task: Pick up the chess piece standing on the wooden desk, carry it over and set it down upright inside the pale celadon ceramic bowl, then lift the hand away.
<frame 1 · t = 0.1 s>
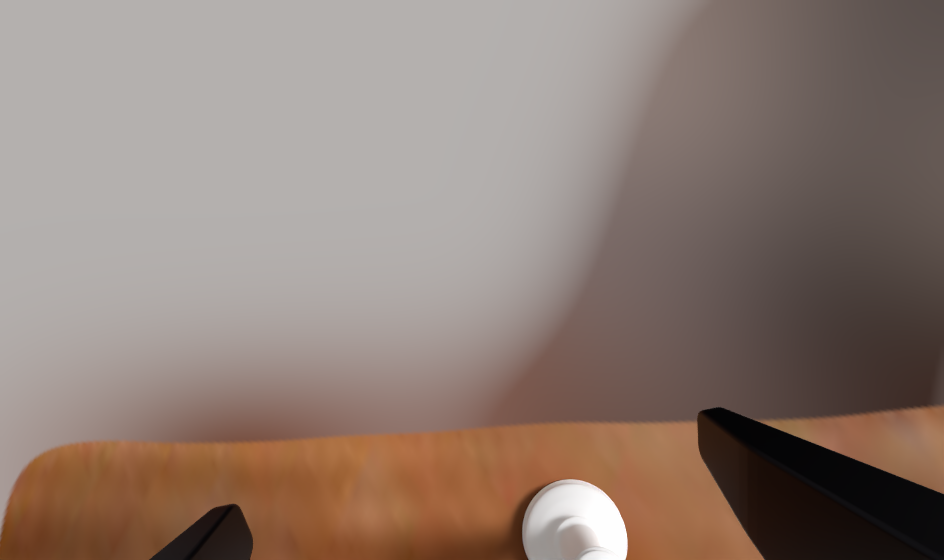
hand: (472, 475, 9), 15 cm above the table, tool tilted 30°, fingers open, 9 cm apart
chess piece: (572, 532, 22), on the table
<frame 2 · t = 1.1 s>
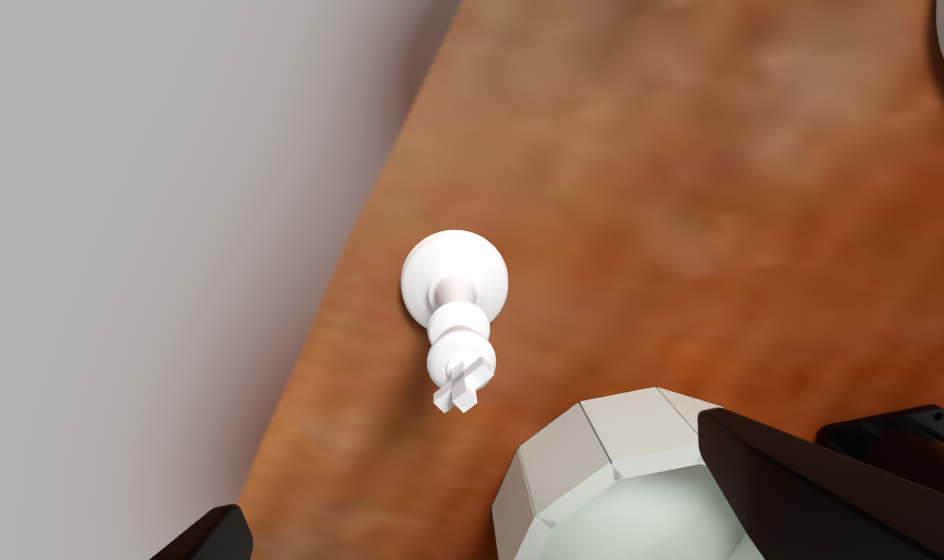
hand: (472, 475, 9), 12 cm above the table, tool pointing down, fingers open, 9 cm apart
chess piece: (454, 281, 21), on the table
bowl: (628, 509, 25), on the table
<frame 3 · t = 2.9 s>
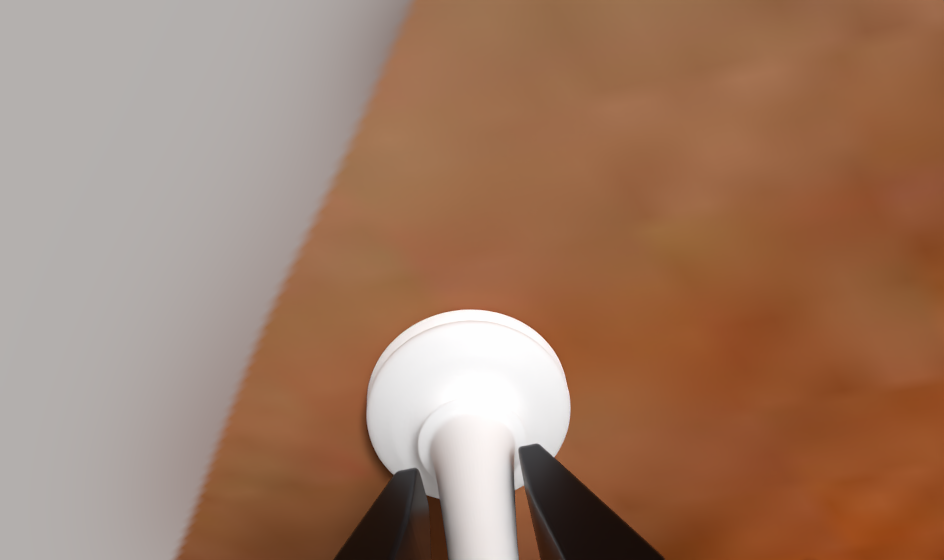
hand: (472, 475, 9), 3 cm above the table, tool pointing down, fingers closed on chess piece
chess piece: (467, 397, 11), on the table, touching gripper
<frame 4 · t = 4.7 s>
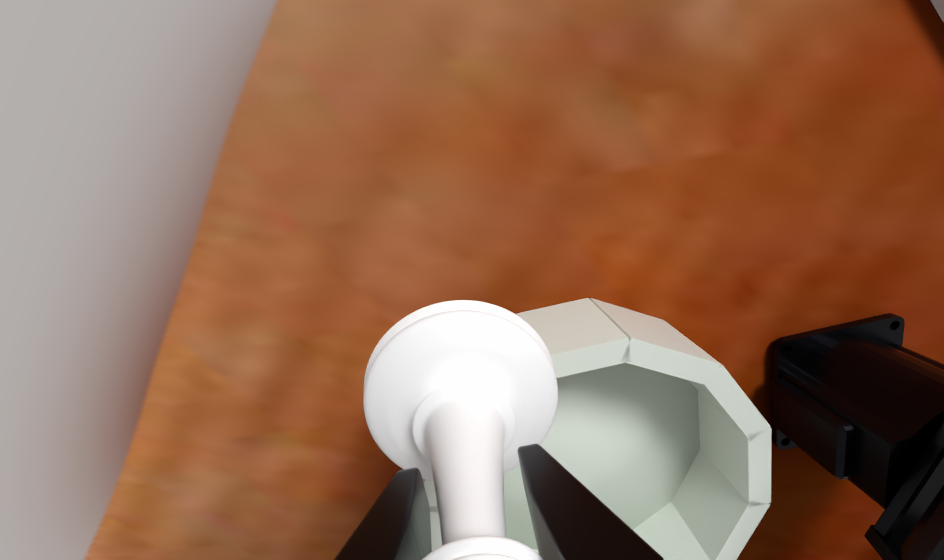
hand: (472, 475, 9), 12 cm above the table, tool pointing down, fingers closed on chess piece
chess piece: (460, 385, 12), point 9 cm above the table, touching gripper
bowl: (568, 438, 23), on the table
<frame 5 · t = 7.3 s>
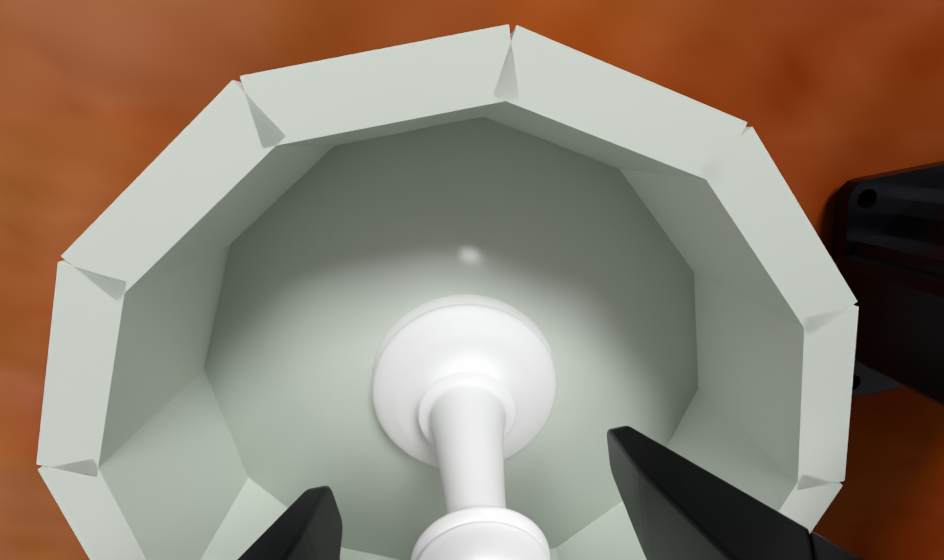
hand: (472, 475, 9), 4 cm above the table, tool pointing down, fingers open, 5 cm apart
chess piece: (464, 375, 12), point 1 cm above the table, touching bowl
bowl: (461, 365, 13), on the table
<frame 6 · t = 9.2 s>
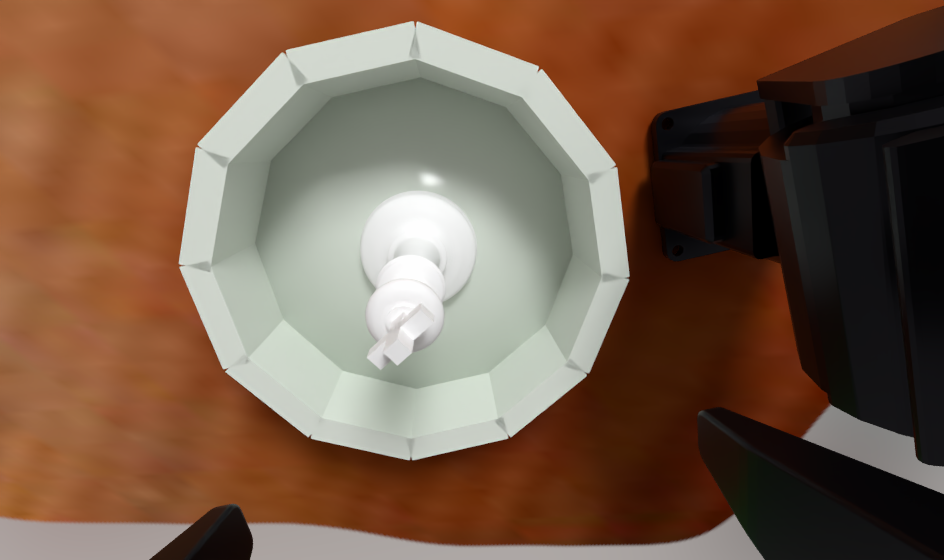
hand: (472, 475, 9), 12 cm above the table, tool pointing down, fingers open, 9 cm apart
chess piece: (419, 248, 19), point 1 cm above the table, touching bowl
bowl: (419, 244, 20), on the table
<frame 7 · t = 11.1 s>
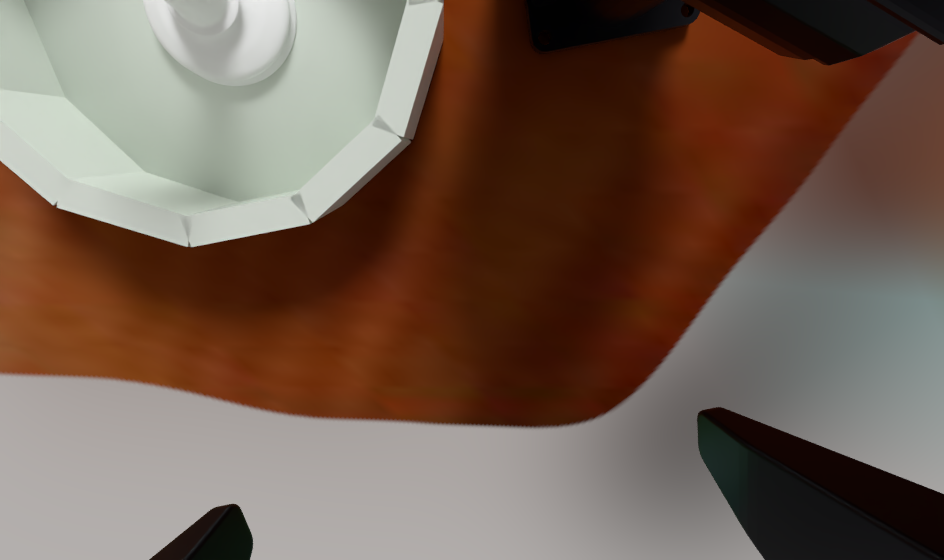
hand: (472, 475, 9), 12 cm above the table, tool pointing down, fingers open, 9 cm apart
chess piece: (228, 12, 16), point 1 cm above the table, touching bowl
bowl: (234, 16, 16), on the table
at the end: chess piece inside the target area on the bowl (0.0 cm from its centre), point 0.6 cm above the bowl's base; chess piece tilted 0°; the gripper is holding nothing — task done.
